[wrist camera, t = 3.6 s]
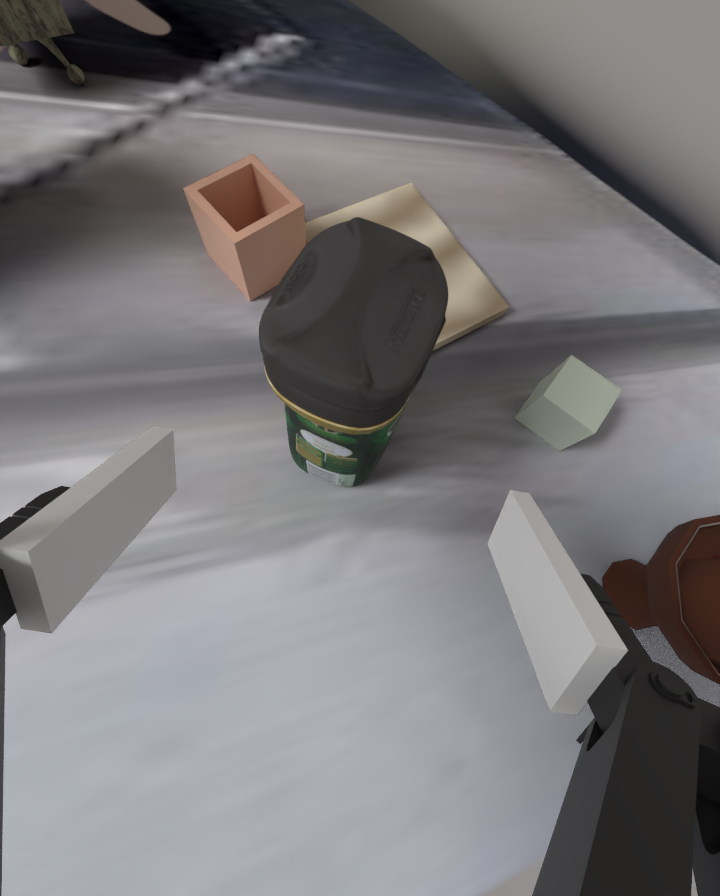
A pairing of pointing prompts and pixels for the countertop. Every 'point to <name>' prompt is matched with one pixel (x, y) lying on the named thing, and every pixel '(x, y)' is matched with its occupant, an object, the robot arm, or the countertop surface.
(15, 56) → the tabletop clock
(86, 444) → the countertop surface
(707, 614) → the ice cream bowl
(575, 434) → the grey-green block
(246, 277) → the terracotta cup
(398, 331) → the coffee jar
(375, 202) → the birch board
